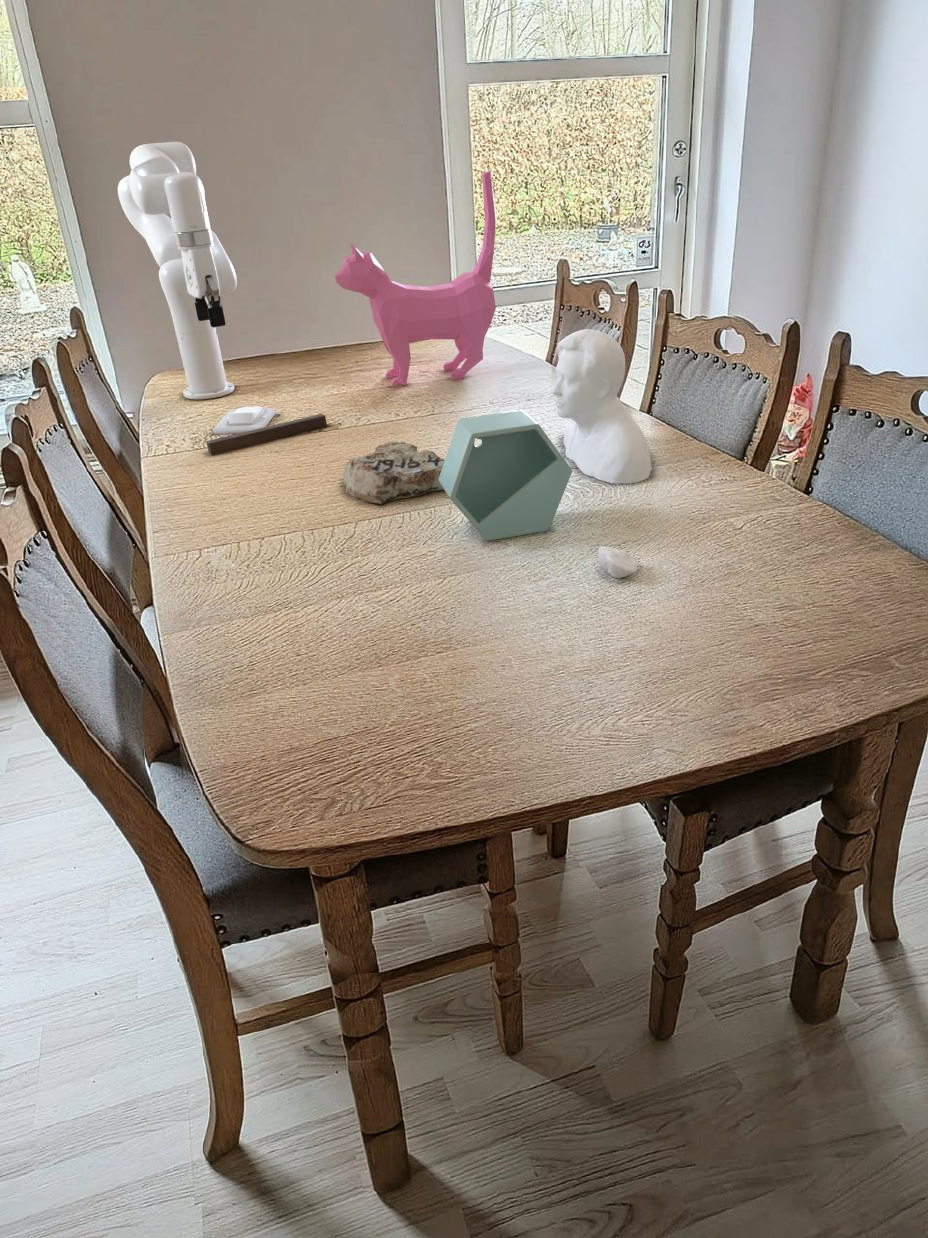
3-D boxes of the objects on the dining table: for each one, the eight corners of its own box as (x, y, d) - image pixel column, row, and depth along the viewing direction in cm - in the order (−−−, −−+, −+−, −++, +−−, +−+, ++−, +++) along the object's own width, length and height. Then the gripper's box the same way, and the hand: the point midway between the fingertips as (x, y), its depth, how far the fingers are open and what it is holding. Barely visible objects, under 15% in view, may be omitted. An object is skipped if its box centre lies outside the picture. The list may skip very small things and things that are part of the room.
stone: (359, 484, 143) (319, 438, 162) (363, 515, 146) (323, 467, 165) (465, 462, 149) (414, 421, 168) (466, 493, 152) (416, 449, 171)
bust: (520, 445, 170) (516, 321, 158) (605, 427, 175) (607, 306, 163) (591, 492, 147) (593, 352, 135) (686, 470, 153) (695, 334, 141)
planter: (506, 564, 136) (427, 472, 125) (492, 544, 143) (416, 454, 132) (591, 495, 134) (518, 395, 123) (573, 478, 140) (502, 381, 129)
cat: (346, 381, 219) (320, 183, 196) (495, 362, 226) (487, 169, 203) (352, 394, 208) (325, 186, 185) (509, 374, 215) (502, 171, 192)
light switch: (209, 419, 186) (228, 398, 197) (213, 437, 189) (232, 415, 199) (257, 417, 185) (274, 396, 196) (261, 435, 187) (277, 414, 198)
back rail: (208, 452, 178) (206, 441, 176) (323, 424, 189) (321, 413, 188) (211, 455, 176) (209, 443, 175) (327, 426, 188) (325, 415, 186)
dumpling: (588, 570, 124) (591, 543, 122) (621, 569, 125) (624, 543, 124) (610, 583, 117) (613, 554, 116) (644, 582, 119) (648, 554, 118)
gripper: (166, 239, 188) (184, 320, 197) (188, 245, 175) (206, 331, 184) (200, 234, 191) (216, 315, 200) (224, 240, 178) (240, 325, 187)
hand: (211, 322), depth 192 cm, fingers open, 9 cm apart
